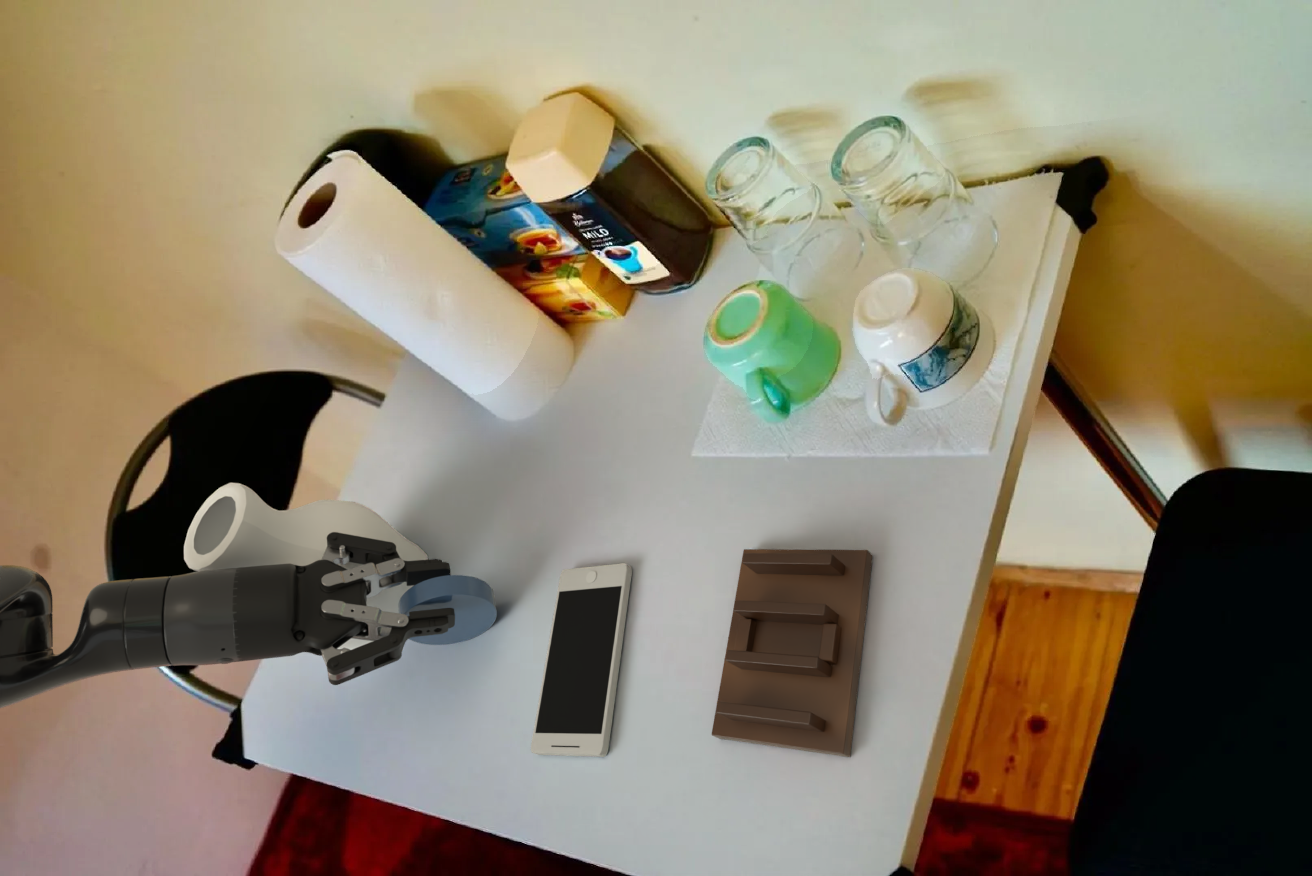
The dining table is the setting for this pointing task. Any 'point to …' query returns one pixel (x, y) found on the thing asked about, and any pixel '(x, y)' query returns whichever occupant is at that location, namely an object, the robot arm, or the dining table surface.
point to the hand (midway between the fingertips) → (450, 594)
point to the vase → (286, 536)
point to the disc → (453, 606)
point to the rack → (795, 650)
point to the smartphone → (582, 662)
